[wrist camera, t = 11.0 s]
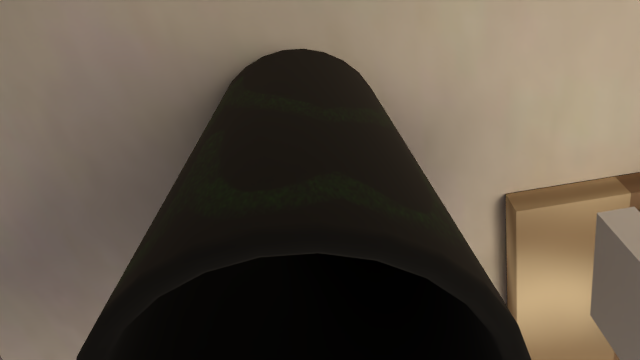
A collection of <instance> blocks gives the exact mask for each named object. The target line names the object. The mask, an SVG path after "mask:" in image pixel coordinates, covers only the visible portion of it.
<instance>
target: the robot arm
mask: <svg viewBox="0 0 640 360" xmlns="http://www.w3.org/2000/svg"><path fill="white" fill-rule="evenodd" d="M590 316H591V317H592V319H593V320H594V322H595V323H596V325H597V326H598V328H599V329H600V331H601V332H602V334H603V335H604V337H605V338H606V340H607V341H608V343H609V344H610V346H611V347H612V349H613V350H614V352H615V353H616V355H617V356H618V358H619V359H620V360H640V212H639V211H638V210H637V209H636V208H635V207H629V208H623V209H617V210H611V211H605V212H599V213H597V218H596V233H595V249H594V264H593V279H592V294H591V310H590ZM0 360H2V358H1V357H0Z"/></svg>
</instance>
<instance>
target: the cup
mask: <svg viewBox="0 0 640 360" xmlns="http://www.w3.org/2000/svg"><path fill="white" fill-rule="evenodd" d="M77 360H531V357H530V355H529V352H528V349H527V347H526V344H525V341H524V339H523V336H522V333H521V331H520V328H519V326H518V324H517V322H516V320H515V319H514V317H513V316H512V314H511V312H510V311H509V309H508V308H507V306H506V304H505V303H504V301H503V299H502V298H501V296H500V295H499V293H498V291H497V290H496V288H495V287H494V285H493V283H492V282H491V280H490V279H489V277H488V275H487V274H486V272H485V271H484V269H483V267H482V266H481V264H480V263H479V261H478V259H477V258H476V256H475V255H474V253H473V251H472V250H471V248H470V246H469V245H468V243H467V242H466V240H465V238H464V237H463V235H462V234H461V232H460V230H459V229H458V227H457V226H456V224H455V222H454V221H453V219H452V218H451V216H450V214H449V213H448V211H447V210H446V208H445V206H444V205H443V203H442V202H441V200H440V198H439V197H438V195H437V193H436V192H435V190H434V189H433V187H432V185H431V184H430V182H429V181H428V179H427V177H426V176H425V174H424V173H423V171H422V169H421V168H420V166H419V165H418V163H417V161H416V160H415V158H414V157H413V155H412V153H411V152H410V150H409V149H408V147H407V145H406V144H405V142H404V141H403V139H402V137H401V136H400V134H399V132H398V131H397V129H396V128H395V126H394V124H393V123H392V121H391V120H390V118H389V116H388V115H387V113H386V112H385V110H384V108H383V107H382V105H381V104H380V102H379V100H378V99H377V97H376V96H375V94H374V92H373V91H372V89H371V88H370V86H369V85H368V84H367V82H366V81H365V80H364V79H363V77H362V76H361V75H360V74H359V72H357V71H356V70H355V69H353V68H352V67H351V66H349V65H348V64H347V63H346V62H344V61H343V60H341V59H338V58H336V57H334V56H331V55H329V54H327V53H324V52H319V51H313V50H307V49H296V50H283V51H279V52H276V53H273V54H270V55H267V56H264V57H262V58H260V59H258V60H257V61H255V62H254V63H252V64H250V65H249V66H247V67H246V68H245V69H244V70H243V71H242V72H241V73H240V74H239V75H238V76H237V77H236V78H235V79H234V80H233V81H232V83H231V84H230V86H229V88H228V90H227V91H226V93H225V95H224V97H223V98H222V100H221V102H220V104H219V106H218V107H217V109H216V111H215V113H214V114H213V116H212V118H211V120H210V121H209V123H208V125H207V127H206V129H205V130H204V132H203V134H202V136H201V137H200V139H199V141H198V143H197V144H196V146H195V148H194V150H193V152H192V153H191V155H190V157H189V159H188V160H187V162H186V164H185V166H184V167H183V169H182V171H181V173H180V174H179V176H178V178H177V180H176V182H175V183H174V185H173V187H172V189H171V190H170V192H169V194H168V196H167V197H166V199H165V201H164V203H163V205H162V206H161V208H160V210H159V212H158V213H157V215H156V217H155V219H154V220H153V222H152V224H151V226H150V228H149V229H148V231H147V233H146V235H145V236H144V238H143V240H142V242H141V243H140V245H139V247H138V249H137V251H136V252H135V254H134V256H133V258H132V259H131V261H130V263H129V265H128V266H127V268H126V270H125V272H124V274H123V275H122V277H121V279H120V281H119V282H118V284H117V286H116V288H115V289H114V291H113V293H112V295H111V296H110V298H109V300H108V302H107V304H106V305H105V307H104V309H103V311H102V312H101V314H100V316H99V318H98V320H97V321H96V323H95V325H94V327H93V329H92V330H91V332H90V334H89V336H88V337H87V339H86V341H85V343H84V345H83V346H82V348H81V350H80V352H79V354H78V355H77Z"/></svg>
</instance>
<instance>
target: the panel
mask: <svg viewBox="0 0 640 360" xmlns="http://www.w3.org/2000/svg"><path fill="white" fill-rule="evenodd" d="M629 207H635V208H636V209H637V210H638V211H639V212H640V173H634V174H628V175H622V176H615V177H609V178H603V179H597V180H591V181H585V182H578V183H572V184H566V185H560V186H554V187H547V188H541V189H535V190H529V191H523V192H517V193H510V194H506V246H507V308H508V309H509V311H510V312H511V314H512V316H513V317H514V319H515V320H516V322H517V324H518V326H519V328H520V331H521V333H522V336H523V339H524V341H525V344H526V347H527V349H528V352H529V355H530V357H531V360H620V359H619V358H618V356H617V355H616V353H615V352H614V350H613V349H612V347H611V346H610V344H609V343H608V341H607V340H606V338H605V337H604V335H603V334H602V332H601V331H600V329H599V328H598V326H597V325H596V323H595V322H594V320H593V319H592V317H591V316H590V310H591V294H592V279H593V264H594V249H595V233H596V218H597V213H599V212H605V211H611V210H617V209H623V208H629Z"/></svg>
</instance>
